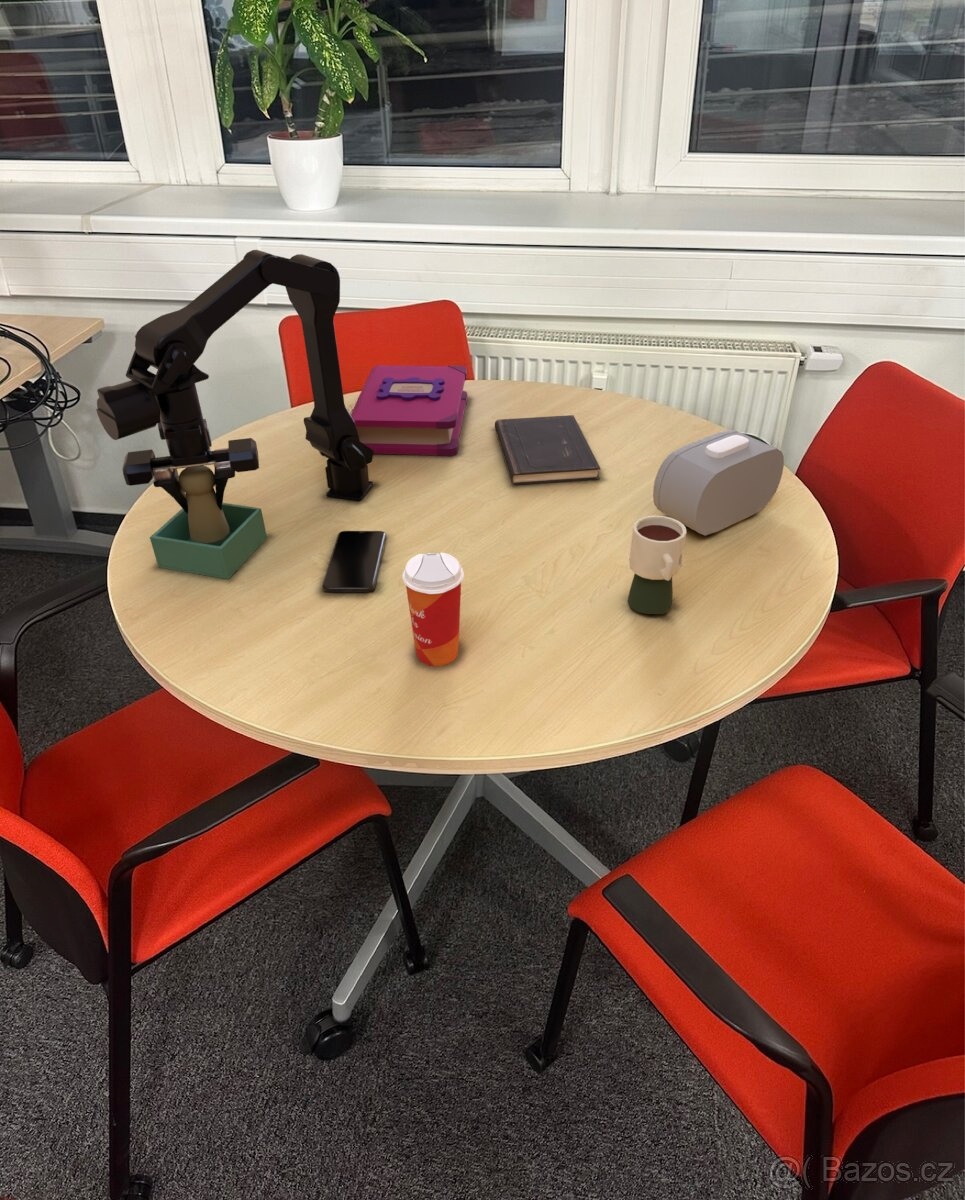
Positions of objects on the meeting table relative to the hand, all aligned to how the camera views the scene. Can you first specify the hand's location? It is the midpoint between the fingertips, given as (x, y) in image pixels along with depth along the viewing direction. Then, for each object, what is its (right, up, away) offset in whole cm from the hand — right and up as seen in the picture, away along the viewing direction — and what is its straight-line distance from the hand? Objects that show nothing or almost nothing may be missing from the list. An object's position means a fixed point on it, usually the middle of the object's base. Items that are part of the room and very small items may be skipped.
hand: (204, 511), depth 127 cm
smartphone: (+23, -8, +1) cm, 24 cm away
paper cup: (+36, -21, -16) cm, 45 cm away
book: (+28, +22, +42) cm, 55 cm away
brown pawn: (0, -3, +2) cm, 4 cm away
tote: (0, -6, +4) cm, 7 cm away
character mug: (+66, -15, -8) cm, 68 cm away
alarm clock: (+81, 0, +12) cm, 82 cm away
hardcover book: (+54, +14, +31) cm, 64 cm away
